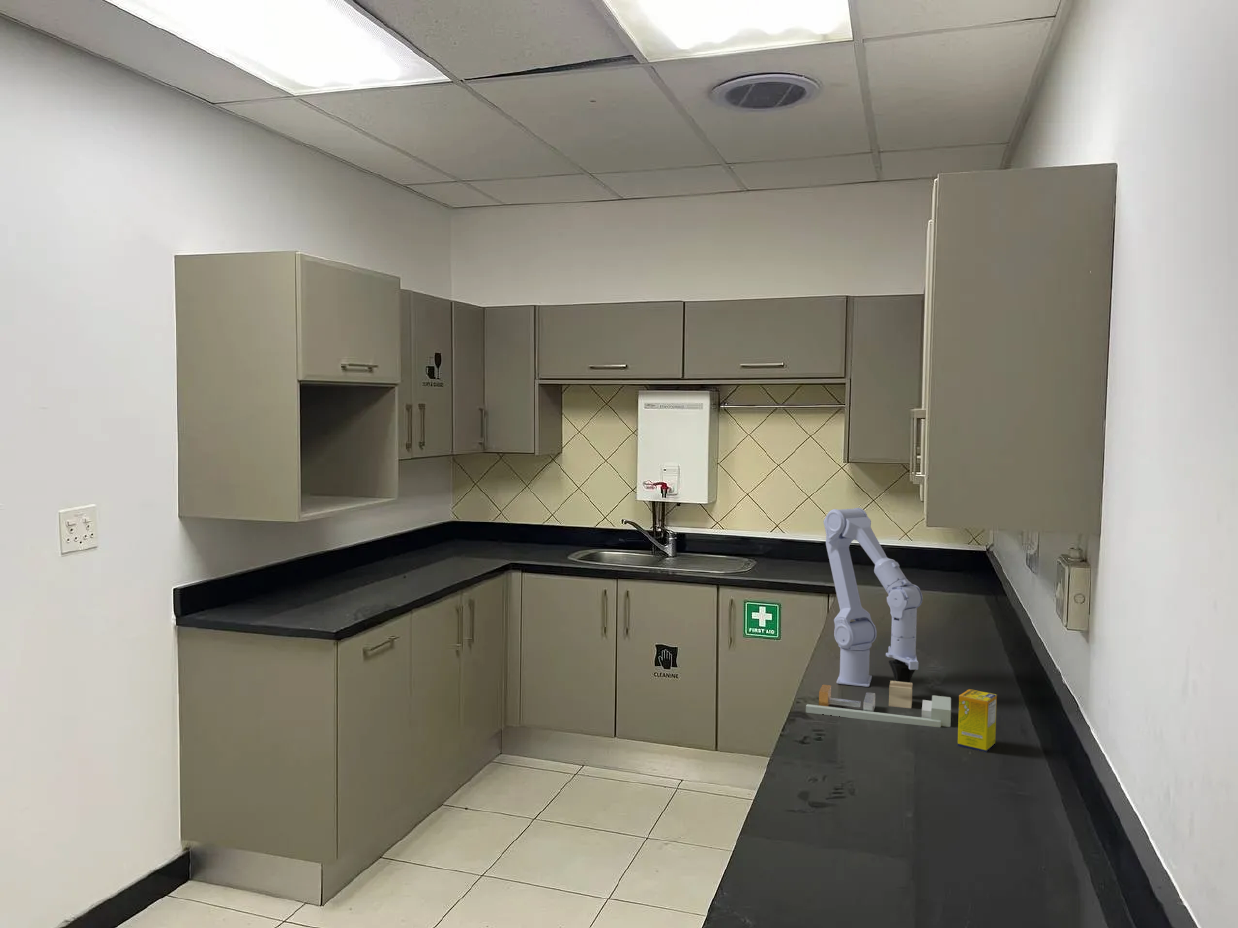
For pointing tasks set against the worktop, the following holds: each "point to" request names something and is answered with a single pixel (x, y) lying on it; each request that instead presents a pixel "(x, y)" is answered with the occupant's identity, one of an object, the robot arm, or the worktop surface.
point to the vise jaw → (827, 700)
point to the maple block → (900, 694)
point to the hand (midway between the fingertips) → (901, 691)
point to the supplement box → (977, 720)
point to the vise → (932, 715)
